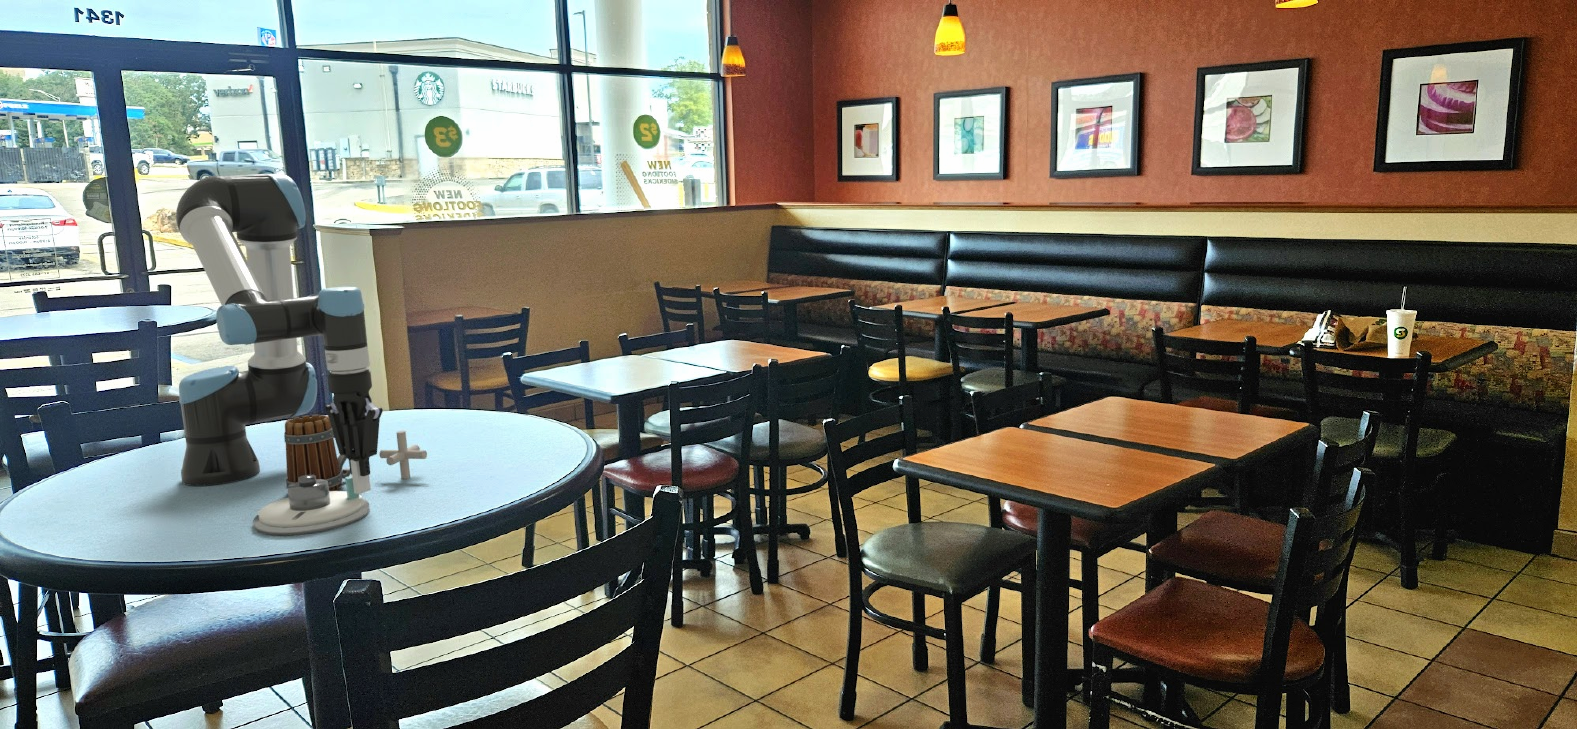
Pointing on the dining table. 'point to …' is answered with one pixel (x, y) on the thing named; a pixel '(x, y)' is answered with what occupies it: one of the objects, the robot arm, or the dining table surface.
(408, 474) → the pipe connector
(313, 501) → the cover
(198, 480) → the robot arm
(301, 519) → the turntable
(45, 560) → the dining table surface
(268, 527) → the turntable base
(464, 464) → the dining table surface
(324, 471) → the mug
